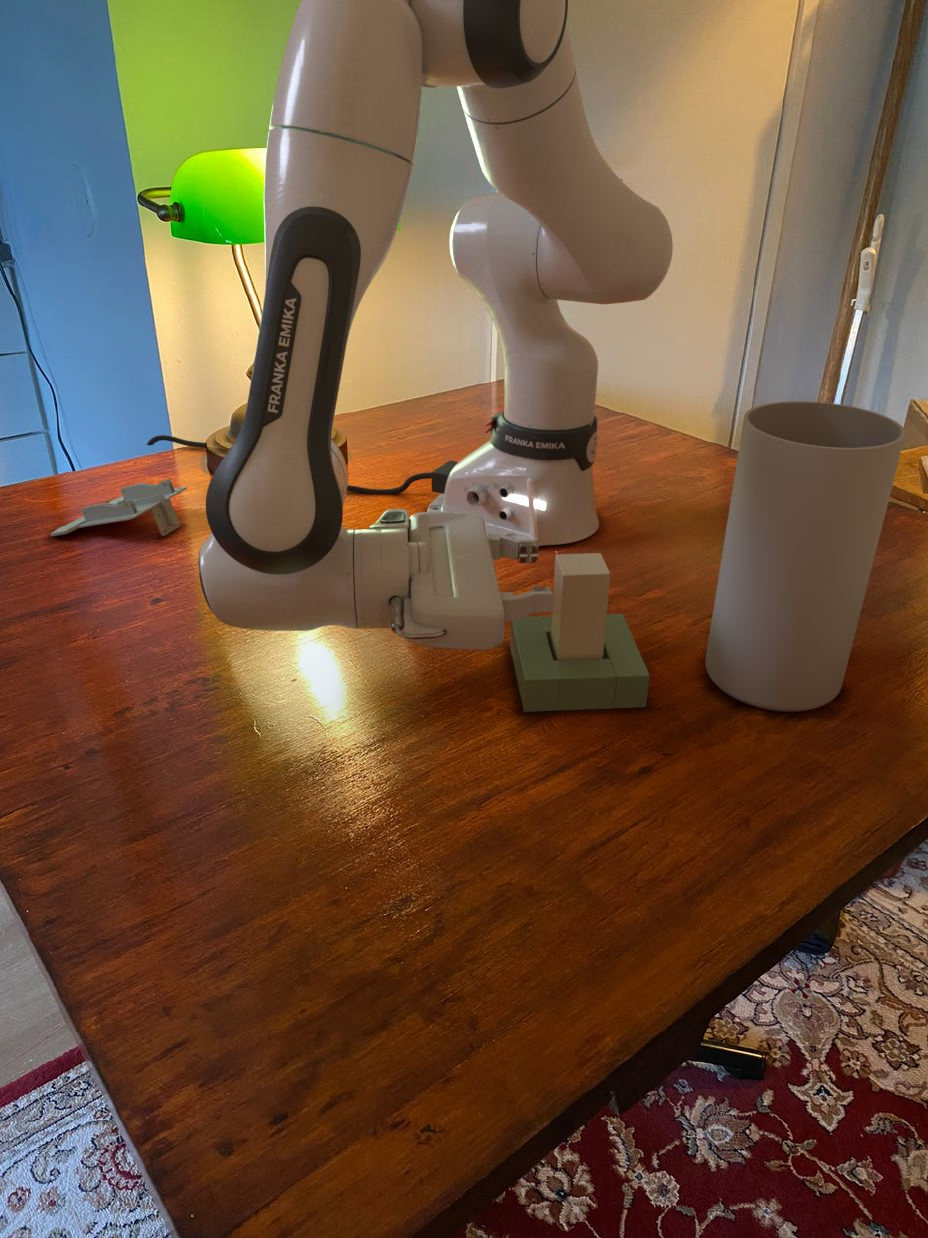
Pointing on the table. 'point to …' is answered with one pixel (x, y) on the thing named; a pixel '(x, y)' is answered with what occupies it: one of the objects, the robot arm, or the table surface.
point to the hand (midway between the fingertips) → (544, 573)
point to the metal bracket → (132, 508)
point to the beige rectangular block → (579, 607)
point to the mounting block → (577, 670)
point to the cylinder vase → (799, 550)
